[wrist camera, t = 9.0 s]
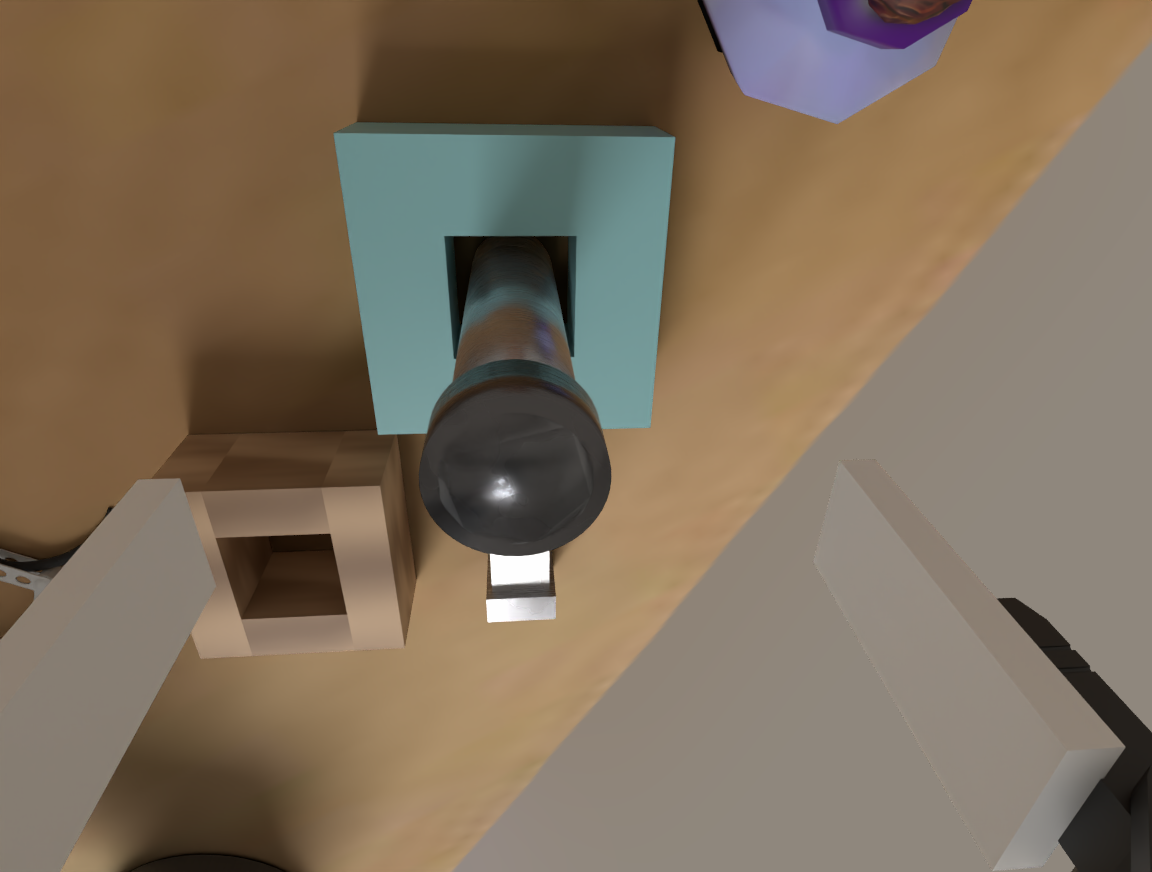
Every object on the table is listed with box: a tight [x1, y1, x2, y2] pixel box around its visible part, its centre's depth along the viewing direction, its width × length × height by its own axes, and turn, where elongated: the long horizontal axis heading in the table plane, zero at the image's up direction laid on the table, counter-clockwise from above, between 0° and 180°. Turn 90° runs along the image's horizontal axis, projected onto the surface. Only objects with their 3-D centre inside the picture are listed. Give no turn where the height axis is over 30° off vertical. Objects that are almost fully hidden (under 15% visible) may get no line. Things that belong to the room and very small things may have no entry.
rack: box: [152, 430, 416, 659], centre depth 33 cm, size 10×10×5 cm
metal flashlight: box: [419, 236, 611, 556], centre depth 23 cm, size 4×4×17 cm
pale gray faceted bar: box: [486, 551, 556, 622], centre depth 34 cm, size 14×4×4 cm, turn 179°
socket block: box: [334, 122, 675, 435], centre depth 28 cm, size 12×12×4 cm
